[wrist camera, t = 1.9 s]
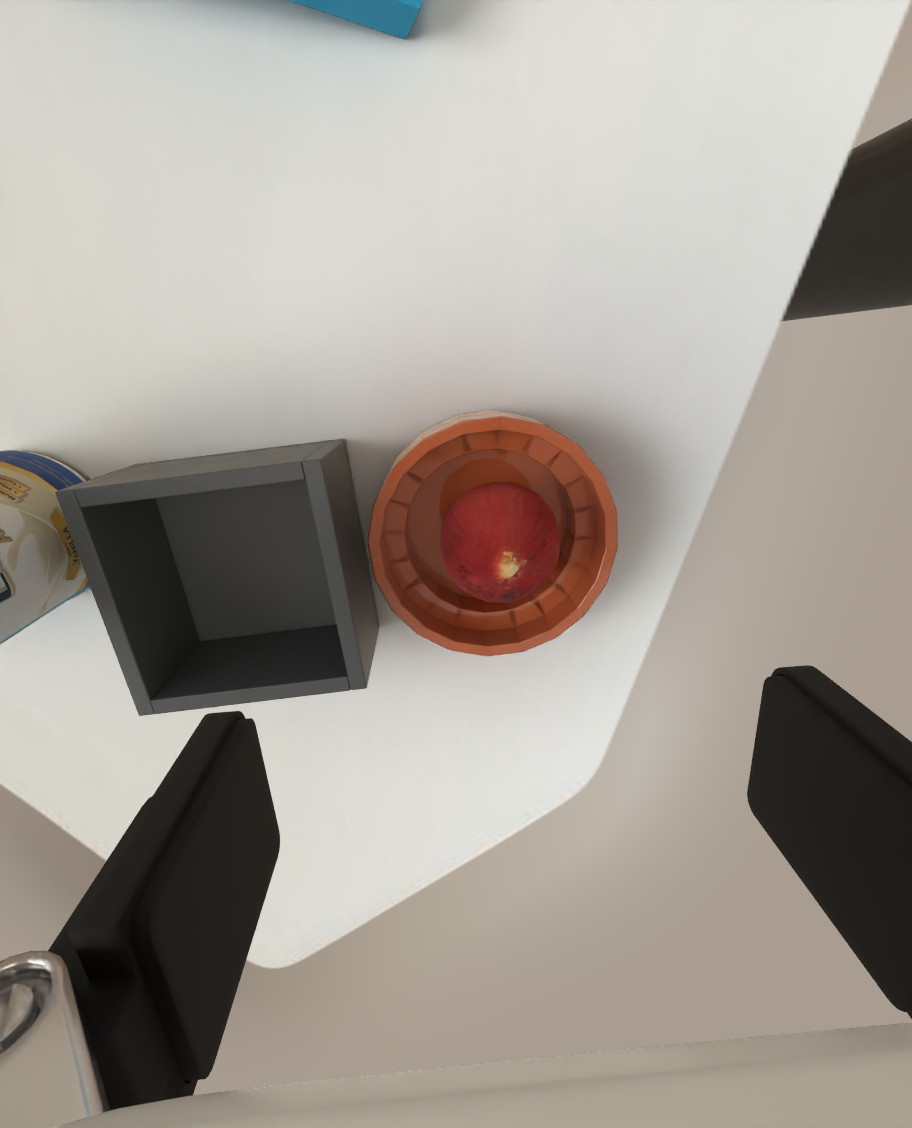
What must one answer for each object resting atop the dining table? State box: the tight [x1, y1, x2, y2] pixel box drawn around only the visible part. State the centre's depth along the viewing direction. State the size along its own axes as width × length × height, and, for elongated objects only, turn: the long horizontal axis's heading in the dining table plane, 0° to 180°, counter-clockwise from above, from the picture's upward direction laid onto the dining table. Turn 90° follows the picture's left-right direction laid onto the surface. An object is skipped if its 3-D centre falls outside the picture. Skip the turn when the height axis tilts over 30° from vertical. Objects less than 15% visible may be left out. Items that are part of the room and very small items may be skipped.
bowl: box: [368, 410, 617, 656], centre depth 29 cm, size 12×12×4 cm
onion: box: [440, 482, 560, 603], centre depth 26 cm, size 6×6×8 cm
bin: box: [55, 439, 379, 716], centre depth 27 cm, size 11×11×7 cm
